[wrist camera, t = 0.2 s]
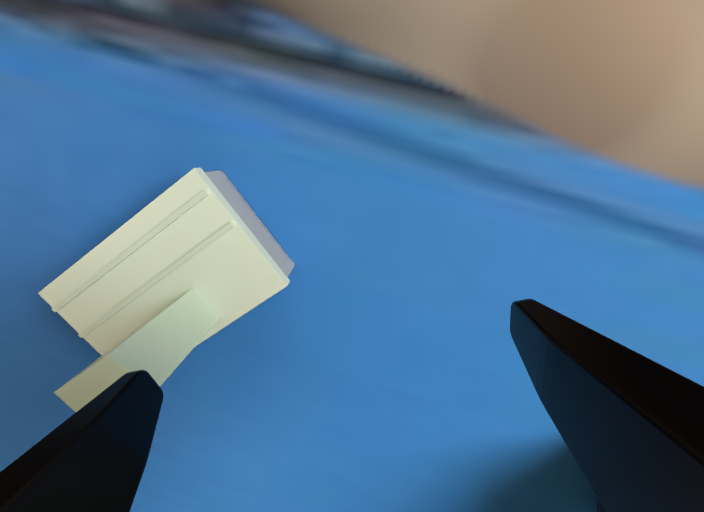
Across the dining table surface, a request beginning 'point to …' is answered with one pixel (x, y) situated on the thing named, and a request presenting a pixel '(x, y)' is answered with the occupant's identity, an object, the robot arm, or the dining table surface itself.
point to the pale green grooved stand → (162, 286)
